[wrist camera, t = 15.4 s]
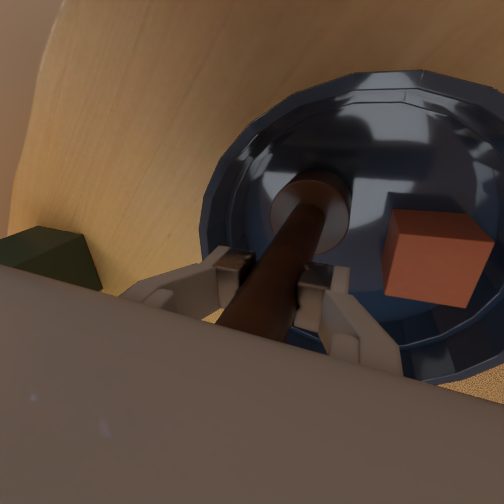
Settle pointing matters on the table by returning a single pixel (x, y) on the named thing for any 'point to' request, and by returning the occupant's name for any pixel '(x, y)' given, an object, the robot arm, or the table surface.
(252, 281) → the masher with cylindrical head
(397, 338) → the bowl
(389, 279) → the terracotta block
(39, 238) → the stand
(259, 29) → the table surface
